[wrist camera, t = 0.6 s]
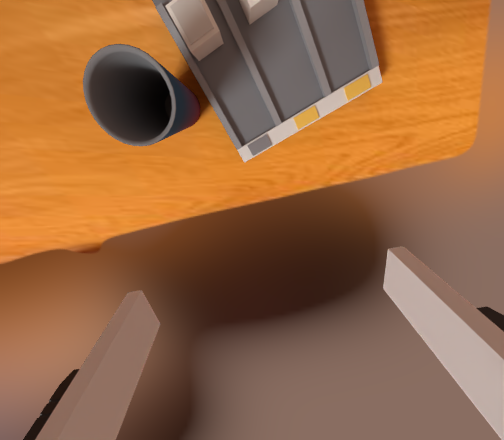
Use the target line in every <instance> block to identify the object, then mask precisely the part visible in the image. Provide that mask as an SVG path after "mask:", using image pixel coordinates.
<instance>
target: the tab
mask: <svg viewBox="0 0 504 440" xmlns="http://www.w3.org/2000/svg"><path fill="white" fill-rule="evenodd" d="M165 7H166V8H167V10H168V12H169V14H170V16H171V17H172V19H173V21H174V23H175V25H176V26H177V28H178V30H179V32H180V34H181V35H182V37H183V39H184V41H185V43H186V44H187V46H188V48H189V50H190V52H191V53H192V54H193V55H194V56H195V57H196V58H197V60H198V61H200V60H201V59H203V58H204V57H206V56H207V55H208V54H210V53H211V52H213V51H214V50H215V49H217V48H218V47H220V46H221V45H222V44H224V43H223V40H222V37H221V33H220V30H219V28H218V26H217V24H216V22H215V20H214V18H213V16H212V14H211V12H210V10H209V8H208V6H207V4H206V2H205V0H172V1H171V2H170V3H168V4H167V5H166V6H165Z"/></svg>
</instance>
